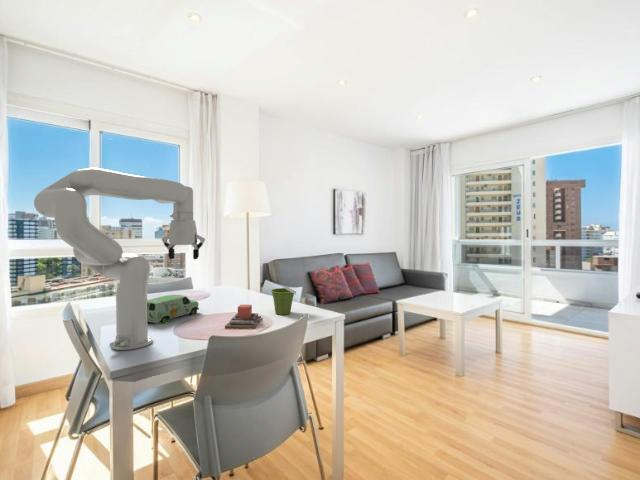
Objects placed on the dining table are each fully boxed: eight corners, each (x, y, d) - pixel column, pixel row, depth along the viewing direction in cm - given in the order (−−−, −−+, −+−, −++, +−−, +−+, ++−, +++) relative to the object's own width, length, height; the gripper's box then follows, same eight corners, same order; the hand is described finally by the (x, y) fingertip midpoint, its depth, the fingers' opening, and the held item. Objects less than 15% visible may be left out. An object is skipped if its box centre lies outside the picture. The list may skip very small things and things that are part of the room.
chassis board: (254, 328, 135) (254, 322, 135) (224, 328, 135) (224, 322, 135) (261, 318, 151) (261, 312, 151) (234, 318, 151) (234, 312, 151)
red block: (249, 321, 143) (249, 307, 142) (237, 321, 143) (237, 307, 142) (251, 318, 148) (251, 304, 147) (240, 317, 148) (240, 304, 147)
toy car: (200, 313, 160) (199, 292, 160) (156, 326, 138) (155, 302, 137) (183, 310, 165) (183, 290, 164) (138, 323, 142) (138, 300, 142)
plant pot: (276, 317, 152) (276, 293, 152) (267, 312, 162) (267, 289, 162) (299, 314, 158) (299, 291, 158) (289, 309, 168) (289, 287, 168)
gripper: (157, 216, 131) (158, 259, 132) (201, 216, 131) (201, 259, 132) (166, 217, 138) (166, 258, 139) (207, 217, 138) (208, 258, 139)
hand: (183, 258), depth 135 cm, fingers open, 9 cm apart
